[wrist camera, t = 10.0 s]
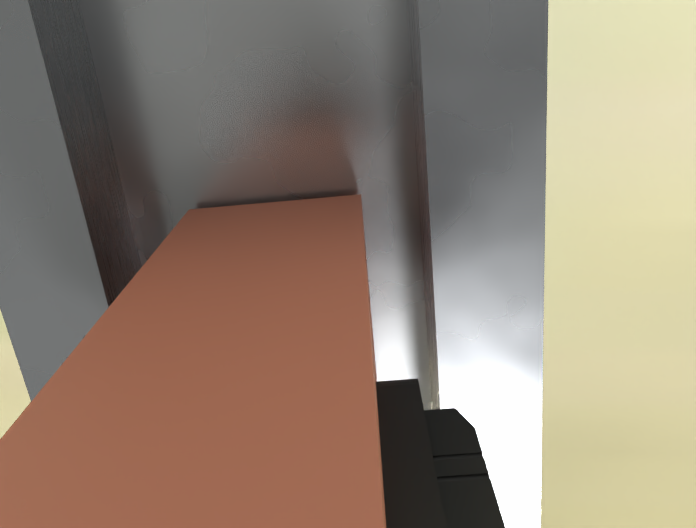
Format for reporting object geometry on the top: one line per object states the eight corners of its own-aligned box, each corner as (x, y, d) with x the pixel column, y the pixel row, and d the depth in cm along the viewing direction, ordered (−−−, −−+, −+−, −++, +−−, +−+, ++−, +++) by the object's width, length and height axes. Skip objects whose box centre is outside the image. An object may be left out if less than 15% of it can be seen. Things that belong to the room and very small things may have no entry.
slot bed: (501, -158, 11) (551, -217, 9) (508, 522, 17) (539, 619, 14) (-30, -96, 12) (-147, -133, 9) (151, 549, 18) (114, 649, 15)
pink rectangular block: (360, 194, 13) (412, 984, 2) (379, 404, 14) (453, 1360, 4) (189, 209, 13) (-479, 1026, 2) (228, 414, 15) (-58, 1372, 4)
